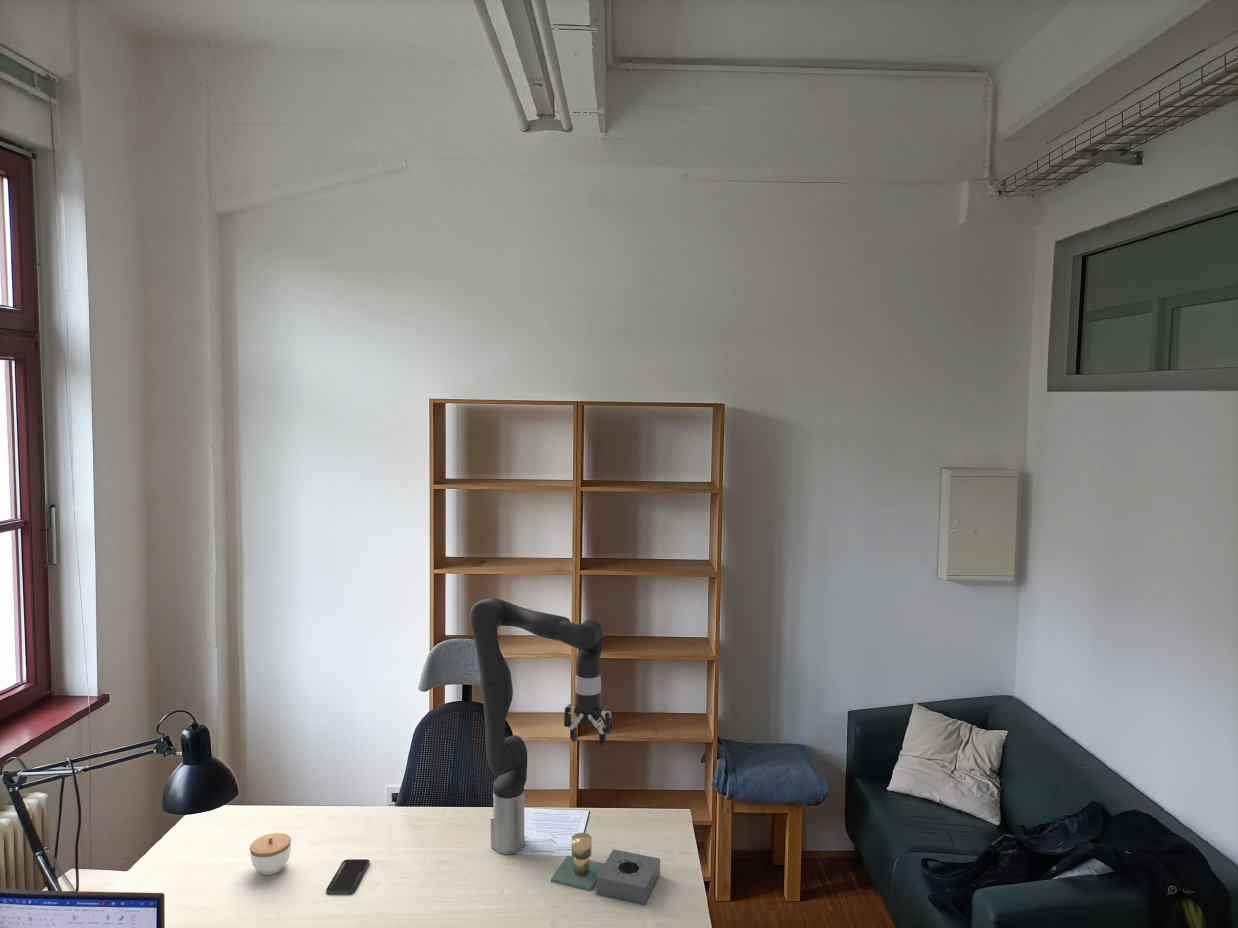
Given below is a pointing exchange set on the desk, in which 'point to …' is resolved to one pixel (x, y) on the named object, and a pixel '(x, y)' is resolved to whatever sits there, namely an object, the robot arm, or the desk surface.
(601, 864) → the mat
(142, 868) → the desk surface
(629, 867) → the block
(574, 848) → the end cover
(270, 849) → the lidded jar
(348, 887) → the phone
